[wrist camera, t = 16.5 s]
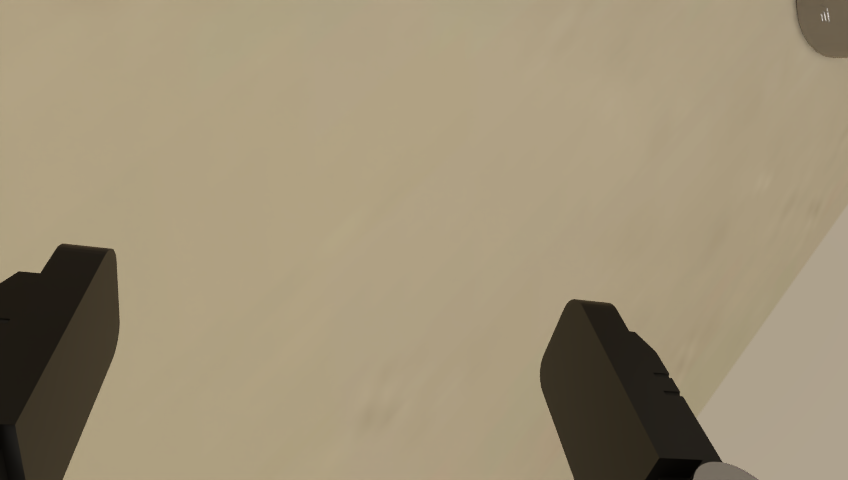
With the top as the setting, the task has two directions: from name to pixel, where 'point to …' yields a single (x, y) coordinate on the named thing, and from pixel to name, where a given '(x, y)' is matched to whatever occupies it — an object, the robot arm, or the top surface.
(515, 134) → the top surface
